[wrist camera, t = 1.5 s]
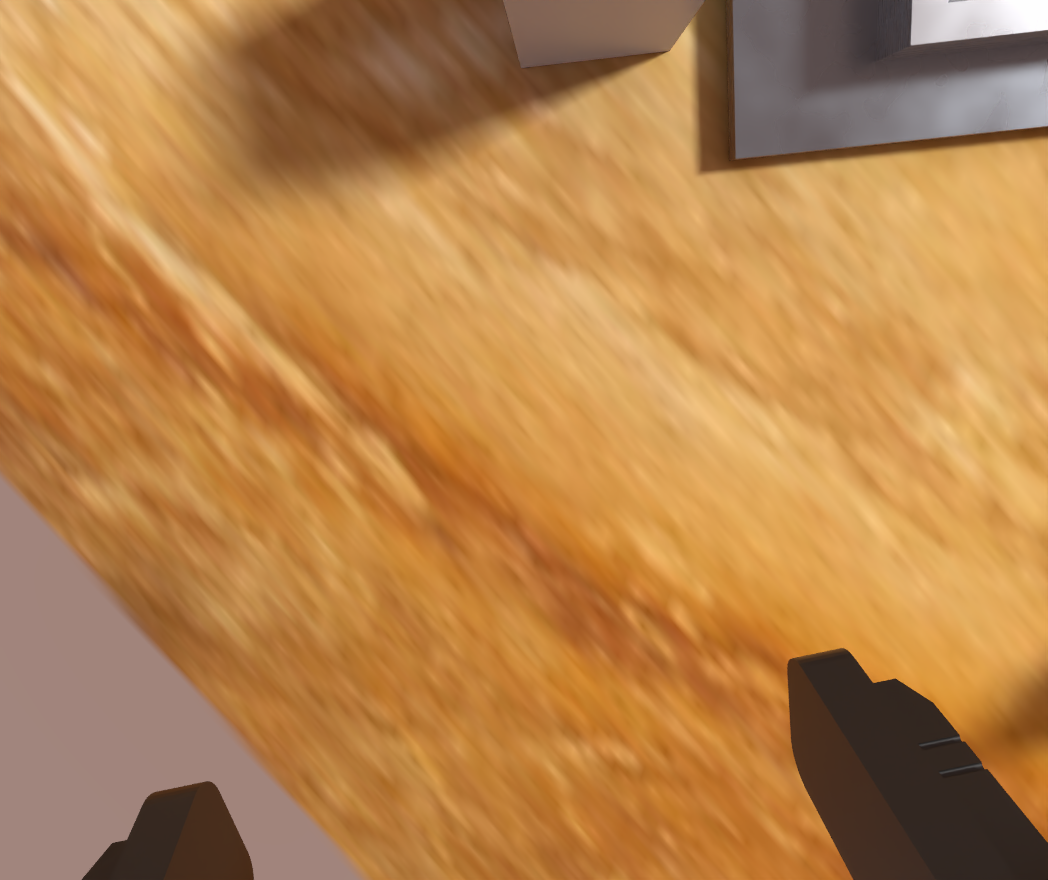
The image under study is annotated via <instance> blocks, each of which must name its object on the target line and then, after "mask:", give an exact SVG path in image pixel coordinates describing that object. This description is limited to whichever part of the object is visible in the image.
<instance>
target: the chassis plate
mask: <svg viewBox="0 0 1048 880" xmlns="http://www.w3.org/2000/svg"><path fill="white" fill-rule="evenodd" d="M726 26H727V72H728V119H729V161H731V160H741V159H750V158H760V157H769V156H779V155H788V154H798V153H807V152H817V151H826V150H836V149H845V148H855V147H864V146H874V145H883V144H893V143H902V142H912V141H921V140H931V139H940V138H950V137H959V136H969V135H978V134H988V133H997V132H1007V131H1016V130H1026V129H1035V128H1045V127H1048V0H726Z"/></svg>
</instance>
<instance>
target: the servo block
mask: <svg viewBox="0 0 1048 880" xmlns="http://www.w3.org/2000/svg"><path fill="white" fill-rule="evenodd" d="M704 1H705V0H503V3H504V6H505V10H506V14H507V18H508V21H509V25H510V29H511V33H512V36H513V40H514V44H515V48H516V51H517V55H518V59H519V62H520V66H521V68H526V67H535V66H544V65H552V64H561V63H569V62H578V61H587V60H595V59H604V58H613V57H621V56H630V55H639V54H647V53H656V52H665V51H670V50H671V48H672V47H673V45H674V44H675V43H676V41H677V40H678V38H679V37H680V35H681V34H682V33H683V31H684V30H685V28H686V27H687V25H688V24H689V23H690V21H691V20H692V18H693V17H694V16H695V14H696V13H697V11H698V10H699V8H700V7H701V6H702V4H703V3H704Z"/></svg>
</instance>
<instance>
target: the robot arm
mask: <svg viewBox="0 0 1048 880" xmlns="http://www.w3.org/2000/svg"><path fill="white" fill-rule="evenodd" d="M787 669H788V690H789V708H790V727H791V742H792V749H793V753H794V757H795V761H796V765H797V768H798V771H799V774H800V776H801V779H802V781H803V784H804V786H805V788H806V790H807V792H808V794H809V796H810V798H811V800H812V802H813V803H814V805H815V807H816V809H817V811H818V813H819V815H820V817H821V819H822V821H823V823H824V824H825V826H826V828H827V830H828V832H829V834H830V836H831V838H832V840H833V842H834V843H835V845H836V847H837V849H838V851H839V853H840V855H841V857H842V859H843V861H844V862H845V864H846V866H847V868H848V870H849V872H850V874H851V876H852V878H853V880H1048V843H1047V841H1046V840H1045V839H1044V838H1043V837H1042V835H1041V834H1040V833H1039V832H1038V830H1037V829H1036V828H1035V827H1034V826H1033V824H1032V823H1031V822H1030V821H1029V819H1028V818H1027V817H1026V816H1025V815H1024V813H1023V812H1022V811H1021V810H1020V808H1019V807H1018V806H1017V805H1016V804H1015V802H1014V801H1013V800H1012V799H1011V797H1010V796H1009V795H1008V794H1007V793H1006V791H1005V790H1004V789H1003V788H1002V786H1001V785H1000V784H999V783H998V782H997V780H996V779H995V778H994V777H993V775H992V774H991V773H990V772H989V771H988V769H984V768H983V766H982V762H981V761H980V760H979V758H978V757H977V756H976V755H975V753H974V752H973V751H972V750H971V749H970V747H969V746H968V745H967V744H966V742H962V741H961V739H960V736H959V734H958V733H957V731H956V730H955V729H954V728H953V727H952V725H951V724H950V723H949V722H948V720H947V719H946V718H945V717H944V716H943V714H942V713H941V712H940V711H939V709H938V708H937V707H936V706H935V705H934V703H933V702H931V701H929V700H928V699H926V698H925V697H923V696H922V695H920V694H919V693H917V692H916V691H914V690H912V689H911V688H909V687H908V686H906V685H905V684H903V683H902V682H900V681H898V680H897V679H892V680H887V681H882V682H877V683H873V682H872V681H871V680H870V678H869V677H868V676H867V674H866V673H865V672H864V670H863V669H862V668H861V666H860V665H859V664H858V662H857V661H856V659H855V658H854V657H853V656H852V654H851V653H850V652H849V651H848V650H846V649H844V648H841V649H836V650H831V651H826V652H821V653H816V654H812V655H807V656H802V657H797V658H792V659H790V660H789V662H788V667H787ZM82 880H254V877H253V868H252V863H251V859H250V856H249V854H248V851H247V850H246V848H245V845H244V843H243V841H242V839H241V837H240V835H239V832H238V830H237V828H236V826H235V824H234V822H233V820H232V818H231V815H230V813H229V811H228V809H227V807H226V805H225V803H224V800H223V799H222V796H221V794H220V792H219V790H218V788H217V787H216V786H215V784H213V783H212V782H208V781H207V782H202V783H197V784H192V785H187V786H183V787H178V788H173V789H168V790H163V791H159V792H154V793H152V794H151V795H150V796H148V797H147V799H146V800H145V802H144V804H143V805H142V808H141V810H140V812H139V815H138V817H137V819H136V821H135V823H134V826H133V828H132V830H131V832H130V835H129V837H128V839H127V840H125V841H120V842H115V843H112V844H111V845H110V846H109V848H108V849H107V850H106V851H105V852H104V854H103V855H102V856H101V857H100V858H99V860H98V861H97V862H96V863H95V864H94V866H93V867H92V868H91V869H90V870H89V872H88V873H87V874H86V875H85V876H84V878H83V879H82Z"/></svg>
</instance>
